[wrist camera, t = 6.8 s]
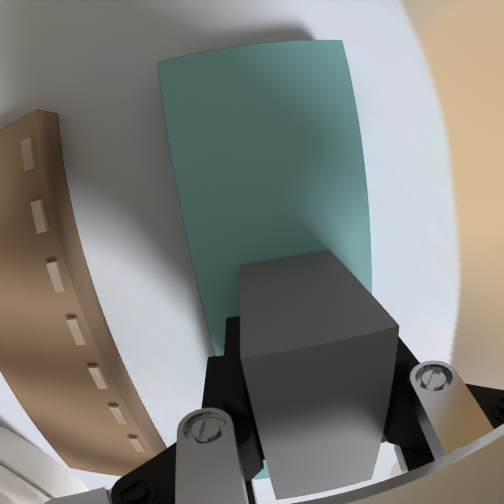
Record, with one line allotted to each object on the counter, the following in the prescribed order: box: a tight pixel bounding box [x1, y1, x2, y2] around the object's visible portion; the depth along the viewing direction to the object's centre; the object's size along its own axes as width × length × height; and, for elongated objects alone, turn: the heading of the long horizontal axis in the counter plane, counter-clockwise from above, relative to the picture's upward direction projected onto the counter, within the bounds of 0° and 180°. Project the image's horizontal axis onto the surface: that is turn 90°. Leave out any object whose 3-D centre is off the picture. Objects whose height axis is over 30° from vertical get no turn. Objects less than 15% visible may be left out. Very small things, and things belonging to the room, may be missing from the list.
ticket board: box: [0, 110, 167, 476], centre depth 12 cm, size 20×8×2 cm, turn 9°
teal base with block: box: [157, 40, 399, 500], centre depth 9 cm, size 20×6×6 cm, turn 9°
